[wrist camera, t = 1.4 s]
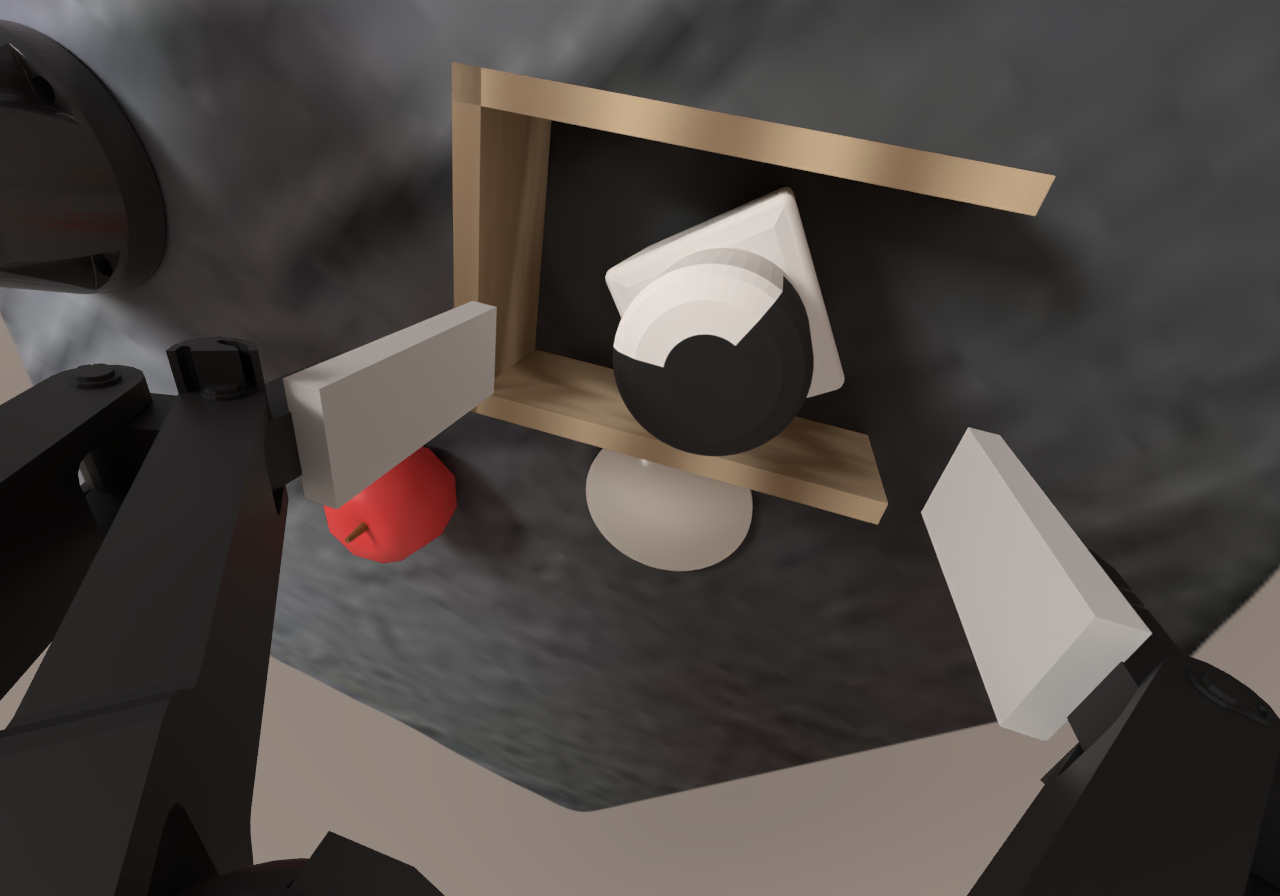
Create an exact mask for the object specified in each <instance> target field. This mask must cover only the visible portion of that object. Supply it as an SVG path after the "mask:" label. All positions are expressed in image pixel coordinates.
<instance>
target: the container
mask: <svg viewBox="0 0 1280 896" xmlns="http://www.w3.org/2000/svg"><path fill="white" fill-rule="evenodd" d="M605 279H606V283H607V285H608V288H609V290H610V292H611V295H612V297H613V299H614V302H615V304H616V307H617V309H618V311H619V314H620V316H621V318H622V319H621V321H620V323H619V326H618V329H617V332H616V335H615V341H614V346H613V370H614V376H615V380H616V385H617V387H618V390H619V393H620V395H621V398H622V400H623V401H624V403H625V405H626V407H627V409H628V410H629V412H630V413H631V414H632V416H633V417H634V418H635V420H636V421H637V422H638V423H639V424H640V425H641V426H642V427H643V428H644V429H645V430H646V431H648V432H649V433H650V434H651V435H652V436H654V437H655V438H657V439H658V440H660V441H661V442H663V443H665V444H667V445H669V446H671V447H673V448H675V449H678V450H681V451H684V452H687V453H692V454H696V455H703V456H728V455H734V454H739V453H743V452H746V451H750V450H752V449H754V448H757V447H759V446H761V445H763V444H765V443H767V442H768V441H770V440H772V439H773V438H774V437H776V436H777V435H778V434H779V433H781V432H782V431H783V430H784V429H785V428H786V427H787V426H788V425H789V424H790V423H791V422H792V421H793V419H794V418H795V417H796V415H797V414H798V412H799V411H800V410H801V408H802V406H803V404H804V402H805V400H806V398H809V397H812V396H816V395H819V394H823V393H827V392H830V391H834V390H837V389H839V388H841V386H842V385H843V383H844V374H843V370H842V366H841V362H840V359H839V355H838V351H837V348H836V344H835V340H834V336H833V333H832V329H831V325H830V322H829V318H828V315H827V311H826V307H825V304H824V300H823V297H822V293H821V289H820V286H819V282H818V279H817V275H816V271H815V268H814V264H813V261H812V257H811V253H810V250H809V246H808V243H807V239H806V235H805V232H804V228H803V225H802V221H801V218H800V214H799V210H798V207H797V203H796V200H795V196H794V192H793V191H792V189H791V188H789V187H782V188H780V189H777V190H775V191H773V192H771V193H768V194H766V195H764V196H761V197H759V198H757V199H755V200H752V201H750V202H748V203H746V204H743V205H741V206H739V207H736V208H734V209H732V210H730V211H727V212H725V213H723V214H720V215H718V216H716V217H714V218H711V219H709V220H707V221H705V222H702V223H700V224H698V225H695V226H693V227H691V228H689V229H686V230H684V231H682V232H679V233H677V234H675V235H673V236H670V237H668V238H666V239H664V240H661V241H659V242H657V243H654V244H652V245H650V246H648V247H646V248H645V249H643V250H641V251H640V252H638V253H636V254H634V255H633V256H631V257H629V258H628V259H626V260H624V261H622V262H621V263H619V264H617V265H616V266H614V267H612V268H611V269H609V270H608V271H607V273H606V276H605Z"/></svg>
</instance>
